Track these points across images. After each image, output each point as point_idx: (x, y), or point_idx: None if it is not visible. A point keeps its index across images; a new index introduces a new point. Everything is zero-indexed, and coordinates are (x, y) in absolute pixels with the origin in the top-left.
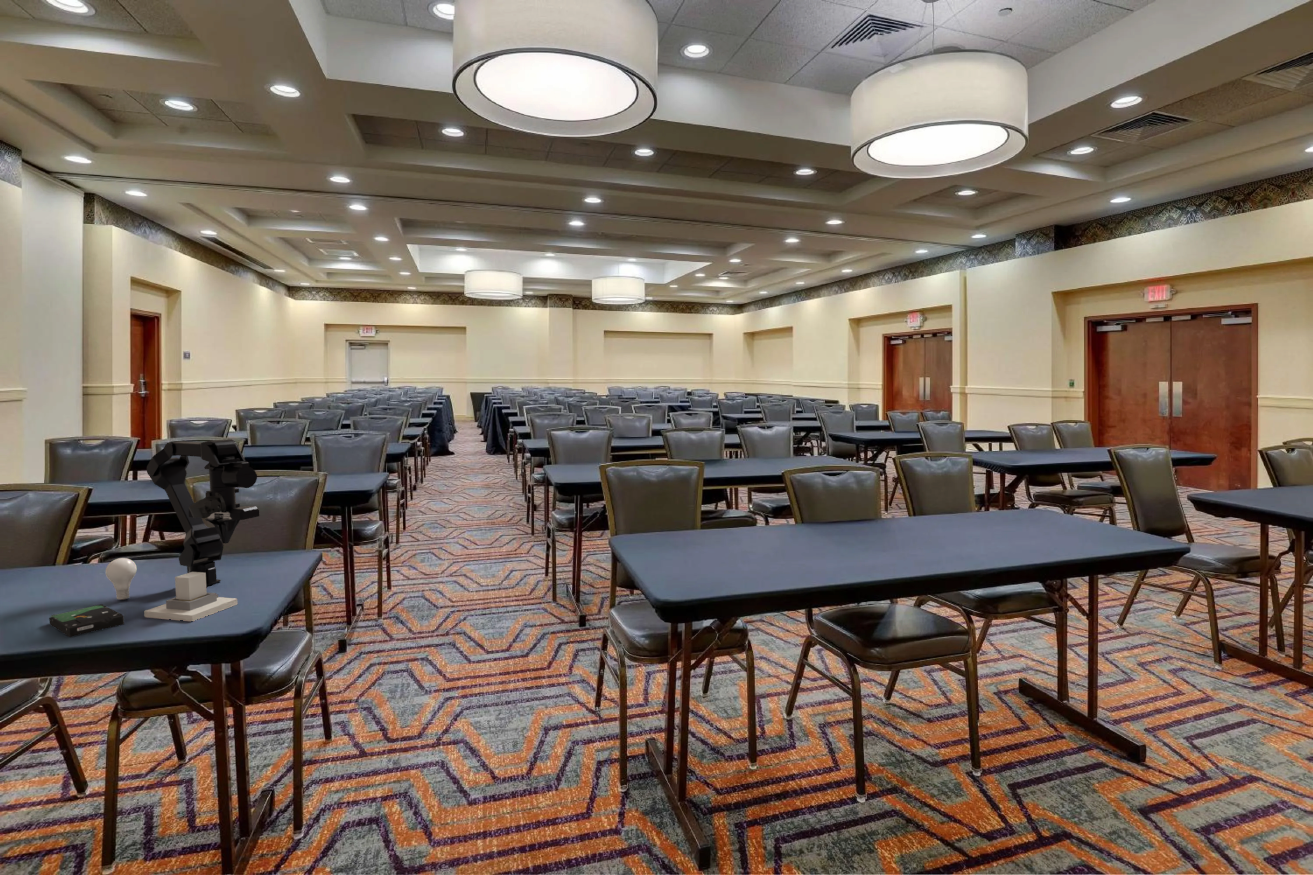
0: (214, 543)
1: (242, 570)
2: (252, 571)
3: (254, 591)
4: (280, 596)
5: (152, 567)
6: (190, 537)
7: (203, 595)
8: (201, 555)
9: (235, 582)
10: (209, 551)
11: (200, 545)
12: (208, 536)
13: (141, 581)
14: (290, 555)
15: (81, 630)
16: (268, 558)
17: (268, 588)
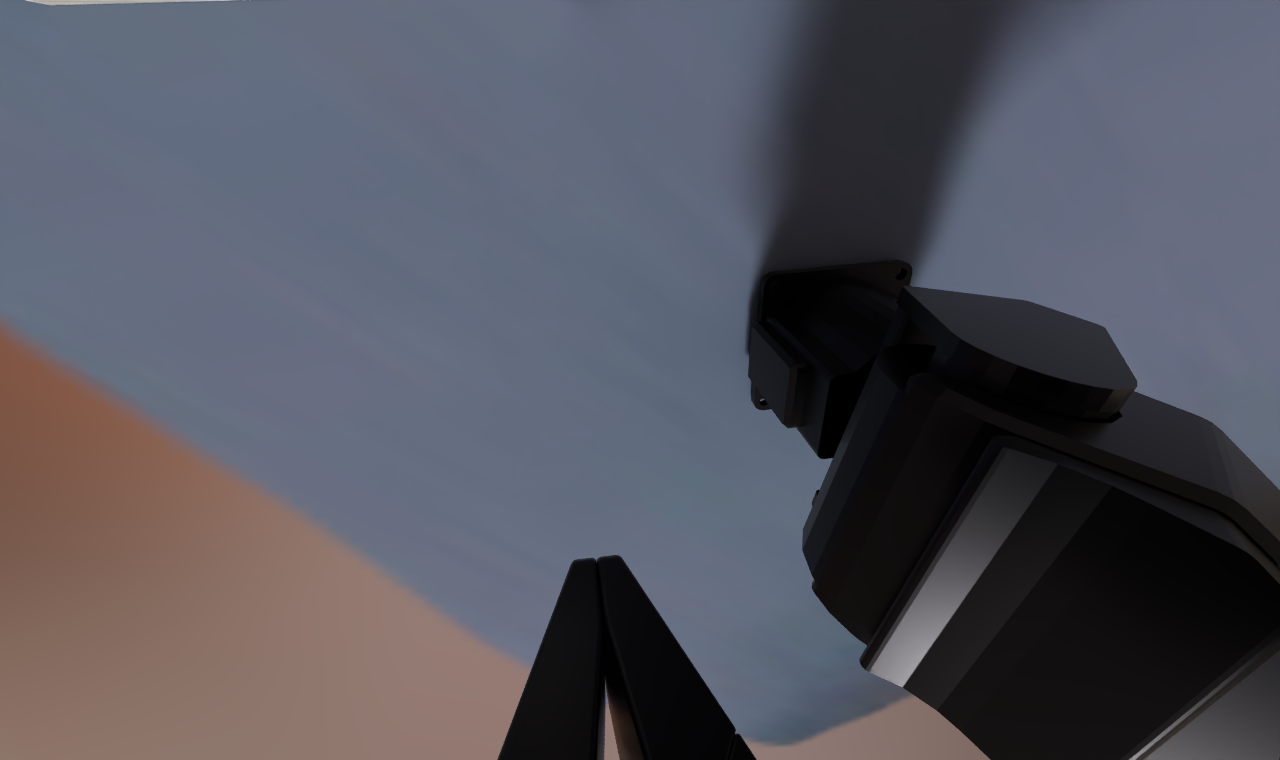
0: (871, 567)
1: (798, 555)
2: (737, 562)
3: (351, 332)
4: (13, 304)
5: (1247, 449)
6: (1217, 485)
7: None
8: (870, 378)
9: (659, 422)
10: (846, 462)
11: (956, 445)
12: (996, 621)
13: (1206, 267)
14: (762, 720)
15: None
16: (819, 676)
17: (336, 406)
